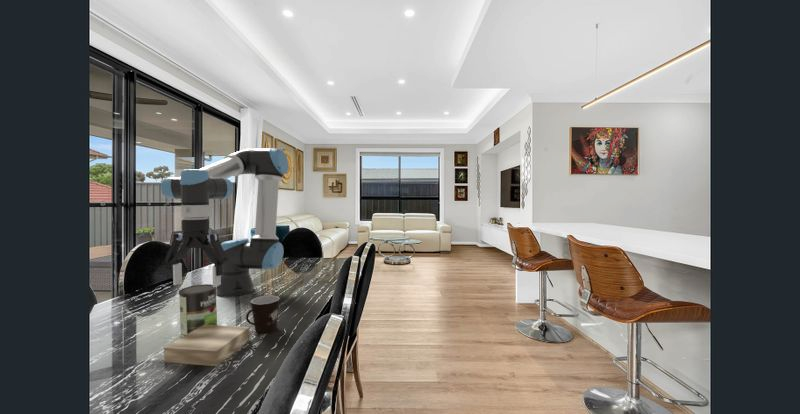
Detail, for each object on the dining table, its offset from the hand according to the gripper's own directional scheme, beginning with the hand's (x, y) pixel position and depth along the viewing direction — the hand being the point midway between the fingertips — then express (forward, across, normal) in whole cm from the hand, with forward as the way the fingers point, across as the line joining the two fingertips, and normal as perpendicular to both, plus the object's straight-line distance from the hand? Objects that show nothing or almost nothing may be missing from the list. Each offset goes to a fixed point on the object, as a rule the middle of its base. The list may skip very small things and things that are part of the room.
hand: (197, 285), depth 106 cm
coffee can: (+16, 0, 0) cm, 16 cm away
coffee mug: (+16, +20, +3) cm, 25 cm away
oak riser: (+16, +12, -10) cm, 22 cm away
